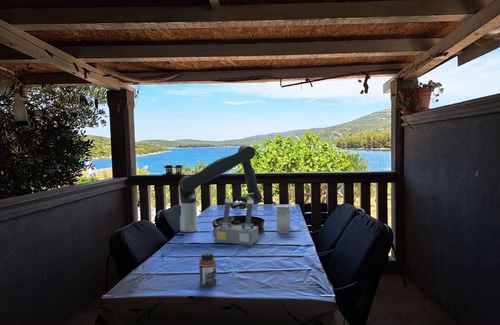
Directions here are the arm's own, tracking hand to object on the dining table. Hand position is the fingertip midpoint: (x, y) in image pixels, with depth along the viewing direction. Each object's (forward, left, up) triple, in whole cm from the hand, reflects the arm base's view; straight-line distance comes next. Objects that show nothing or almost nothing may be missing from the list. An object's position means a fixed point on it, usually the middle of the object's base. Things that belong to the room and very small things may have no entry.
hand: (232, 206), depth 179 cm
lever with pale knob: (0, -10, -8) cm, 12 cm away
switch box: (+6, -10, -16) cm, 20 cm away
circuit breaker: (+24, +19, -16) cm, 35 cm away
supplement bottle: (+19, -63, -16) cm, 68 cm away
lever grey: (+13, -10, -8) cm, 18 cm away
